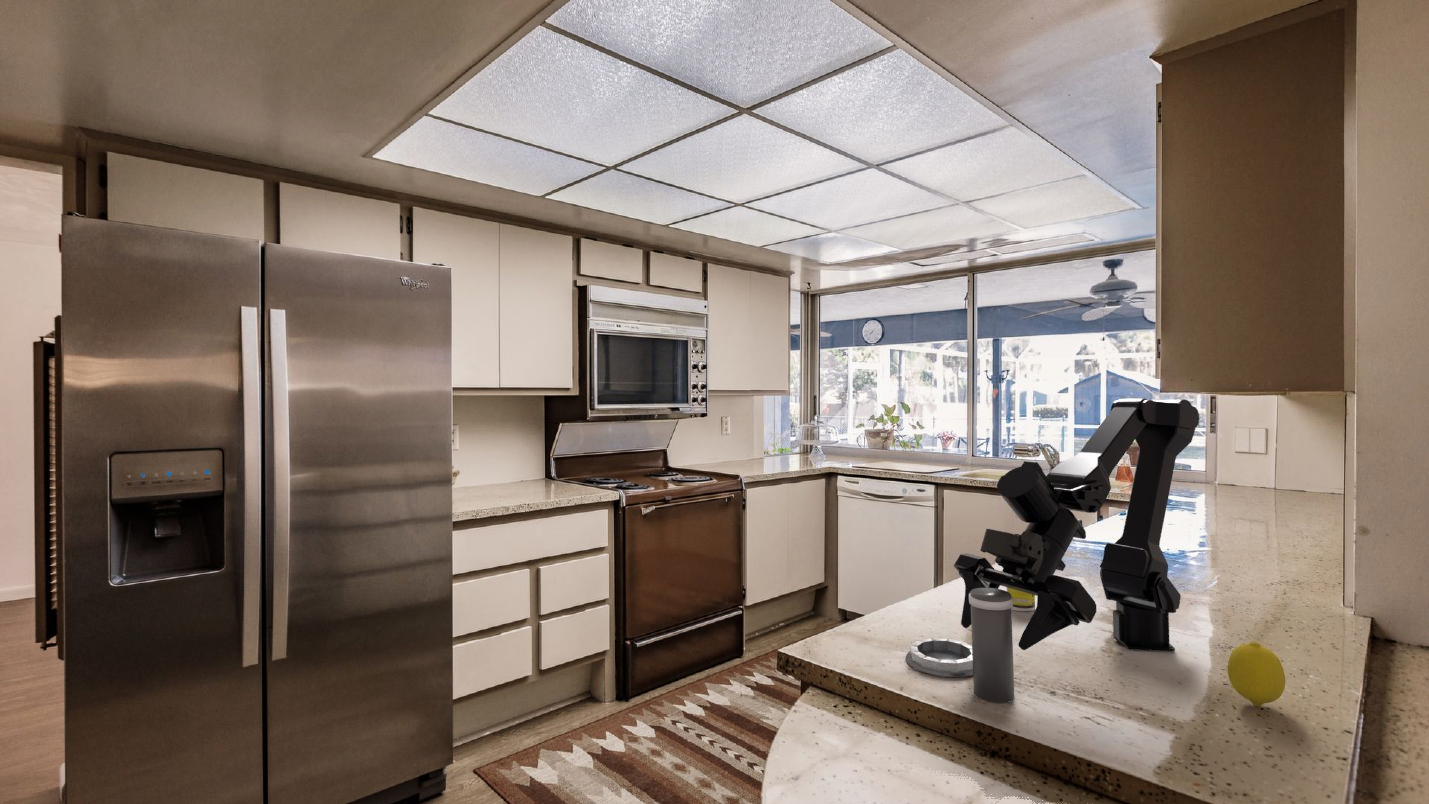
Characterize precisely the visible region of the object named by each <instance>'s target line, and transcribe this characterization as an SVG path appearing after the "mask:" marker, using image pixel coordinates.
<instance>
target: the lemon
mask: <svg viewBox="0 0 1429 804" xmlns="http://www.w3.org/2000/svg"><path fill="white" fill-rule="evenodd" d="M1227 662H1228V663H1227V676H1228V679H1229V681H1230V684H1231V686H1232V687H1233V689H1234V690H1235V692H1236V693H1238V694H1239V695H1240V696H1241V697H1243V698H1244V699H1246V700H1248V701H1250V703H1251V704H1252V705H1254V706H1255V707H1261V706H1262V705H1264V704H1270V703H1273V702H1275V701H1277V700H1279V698H1280V697H1281V696H1282V694H1283V693H1284V691H1285V686H1286V675H1285V670H1284V667H1283V665H1282V664H1283V663H1282V662H1281V661H1280V659H1279V657H1278V656H1277V655H1276V654H1275V653H1274V652H1273V651H1272V650H1271V649H1269V648H1268V647H1265V646H1263V645H1261V644H1260V643H1259V641H1258V642H1257V641H1250V642H1249V643H1243V644H1241V645H1239V646H1238V645H1237V647H1235V648H1233V650H1232V651H1231V653H1230V655H1229V659H1228V661H1227Z"/></svg>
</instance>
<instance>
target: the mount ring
mask: <svg viewBox="0 0 1429 804" xmlns="http://www.w3.org/2000/svg"><path fill="white" fill-rule="evenodd" d="M905 661H906V663H907V664H908V665H909V666H910V668H912V669H913V670H915V671H918V672H921V673H924V674H927V675H930V676H933V677H941V678H949V679H950V678H951V679H955V678H967V677H973V657H972V644H971V645H970V644H969V643H967V642H966V641H965V642H964V641H961V640H956V639H952V638H942V637H941V638H940V637H929V638H923V639H917V640H916V641H914V642H913V643H911V644H910V645H909V651H908V652H907V653H906V656H905Z"/></svg>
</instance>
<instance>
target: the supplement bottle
mask: <svg viewBox="0 0 1429 804" xmlns="http://www.w3.org/2000/svg"><path fill="white" fill-rule="evenodd" d="M1005 588H1006V591H1007V592H1009V593H1010V594H1011V596H1012V597H1013V607H1012V608H1011V610H1013V611H1018V612H1033V611H1035V610H1036V595H1032V594H1029V593H1025V592H1022V591H1018V590H1015V589H1011V588H1008V587H1005Z"/></svg>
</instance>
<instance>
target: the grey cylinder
mask: <svg viewBox="0 0 1429 804" xmlns="http://www.w3.org/2000/svg"><path fill="white" fill-rule="evenodd" d="M969 603H970V604H971V625H970V626H971V646H972V657H973V676H972V680H973V682H972V683H973V694H974V695H975V696H976V697H977V698H978V699H980V700H983V701H985V702H990V703H995V704H1007V703H1010V702H1012V701H1013V700H1015V675H1014V673H1015V672H1014V650H1013V649H1014V645H1013V642H1014V641H1013V619H1012V617H1013V615H1012V614H1013V613H1012V610H1013V609H1011V608H1012V607H1013V597H1012V596H1011V594H1010V593H1009V592H1007V590H1003V589H1001V588H998V589H995V588H976V589H973V590H971V591H970V593H969Z"/></svg>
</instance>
